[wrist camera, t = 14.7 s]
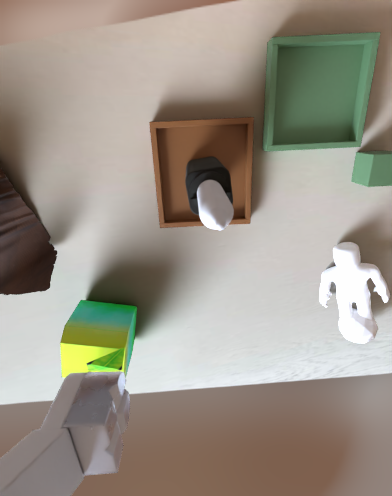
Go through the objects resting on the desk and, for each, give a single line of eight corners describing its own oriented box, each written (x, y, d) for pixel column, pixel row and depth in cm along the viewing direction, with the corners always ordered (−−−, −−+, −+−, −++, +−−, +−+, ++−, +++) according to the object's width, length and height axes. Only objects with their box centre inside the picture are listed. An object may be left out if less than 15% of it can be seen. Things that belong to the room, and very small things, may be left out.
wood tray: (151, 122, 41) (149, 122, 39) (250, 117, 41) (253, 117, 39) (161, 223, 47) (160, 228, 45) (247, 219, 47) (250, 223, 45)
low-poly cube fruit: (133, 344, 57) (116, 414, 43) (84, 339, 56) (50, 408, 42) (137, 300, 53) (119, 361, 39) (84, 294, 52) (46, 353, 38)
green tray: (267, 42, 37) (272, 36, 35) (368, 37, 38) (380, 31, 35) (262, 150, 43) (266, 151, 40) (351, 145, 43) (360, 146, 40)
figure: (389, 327, 54) (379, 231, 48) (400, 351, 48) (390, 247, 42) (325, 329, 59) (308, 243, 52) (328, 352, 53) (309, 258, 47)
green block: (356, 152, 43) (373, 154, 39) (385, 150, 43) (405, 153, 39) (351, 181, 45) (367, 186, 41) (379, 180, 45) (398, 185, 41)
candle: (184, 161, 43) (179, 198, 20) (218, 155, 42) (252, 185, 19) (190, 193, 45) (192, 263, 22) (222, 188, 44) (258, 252, 21)
